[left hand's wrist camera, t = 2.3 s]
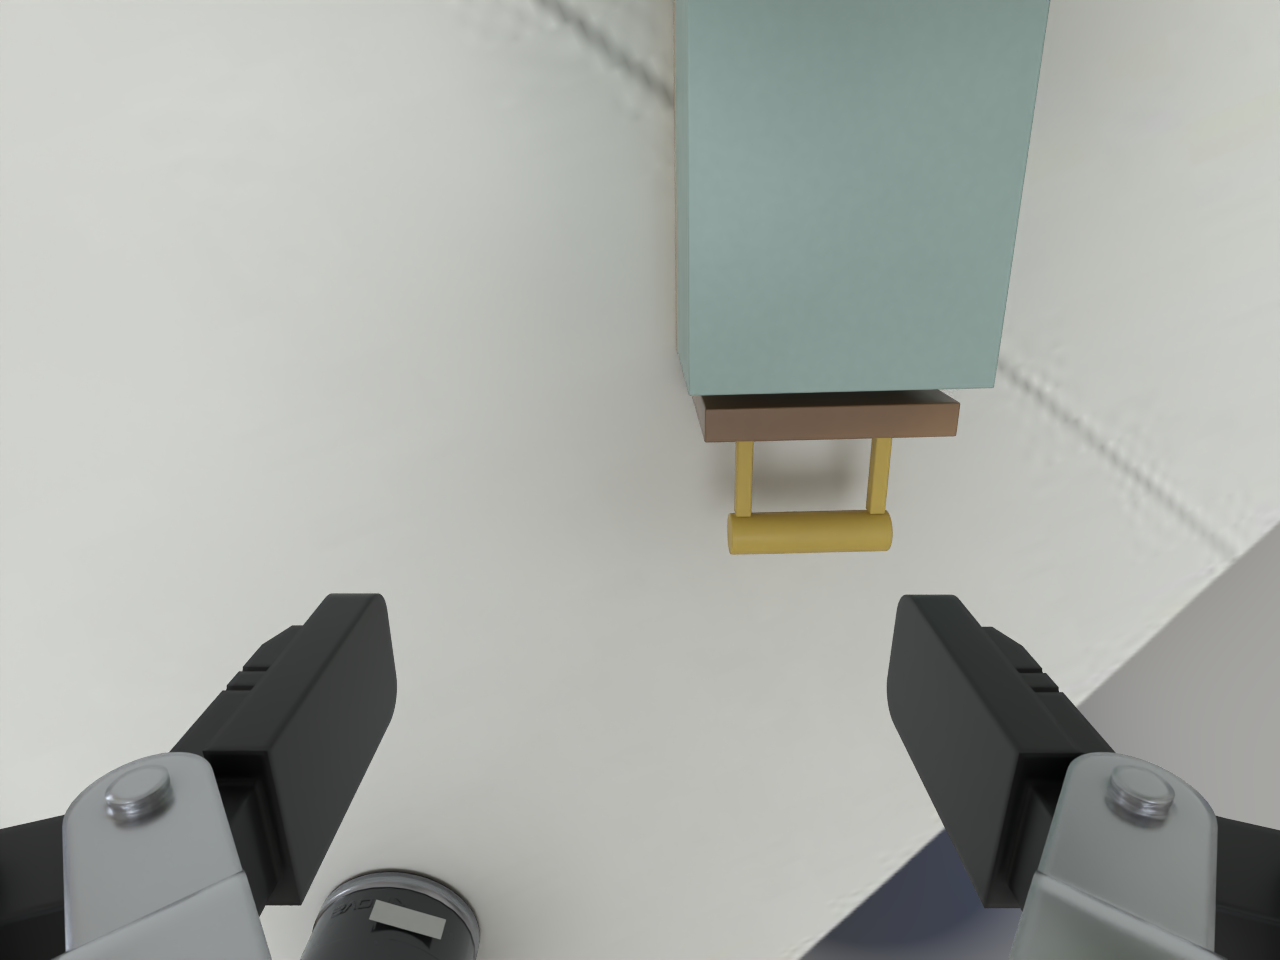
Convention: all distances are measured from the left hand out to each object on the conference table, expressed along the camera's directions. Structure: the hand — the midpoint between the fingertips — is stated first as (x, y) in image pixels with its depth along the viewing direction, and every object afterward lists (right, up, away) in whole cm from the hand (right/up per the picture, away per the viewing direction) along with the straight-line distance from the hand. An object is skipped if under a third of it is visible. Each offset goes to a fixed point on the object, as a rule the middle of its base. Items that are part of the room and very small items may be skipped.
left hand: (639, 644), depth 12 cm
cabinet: (+6, +16, +17) cm, 24 cm away
